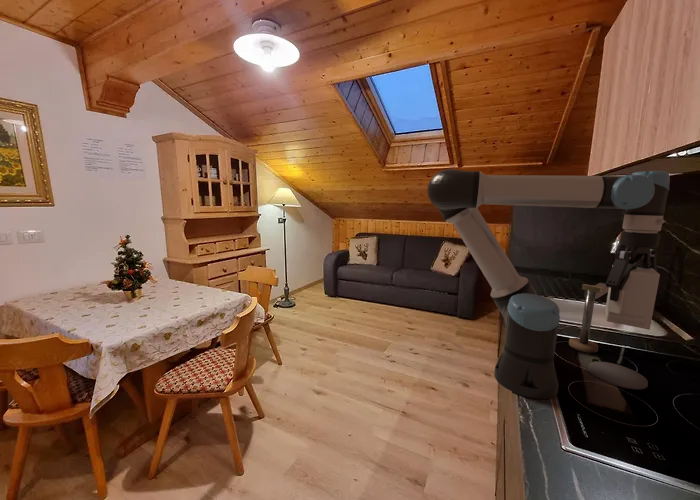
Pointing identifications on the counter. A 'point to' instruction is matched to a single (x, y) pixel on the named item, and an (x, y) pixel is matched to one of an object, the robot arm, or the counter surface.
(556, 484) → the counter surface
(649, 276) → the supplement box
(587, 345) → the disc
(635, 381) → the coaster
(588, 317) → the swing latch
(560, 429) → the counter surface
